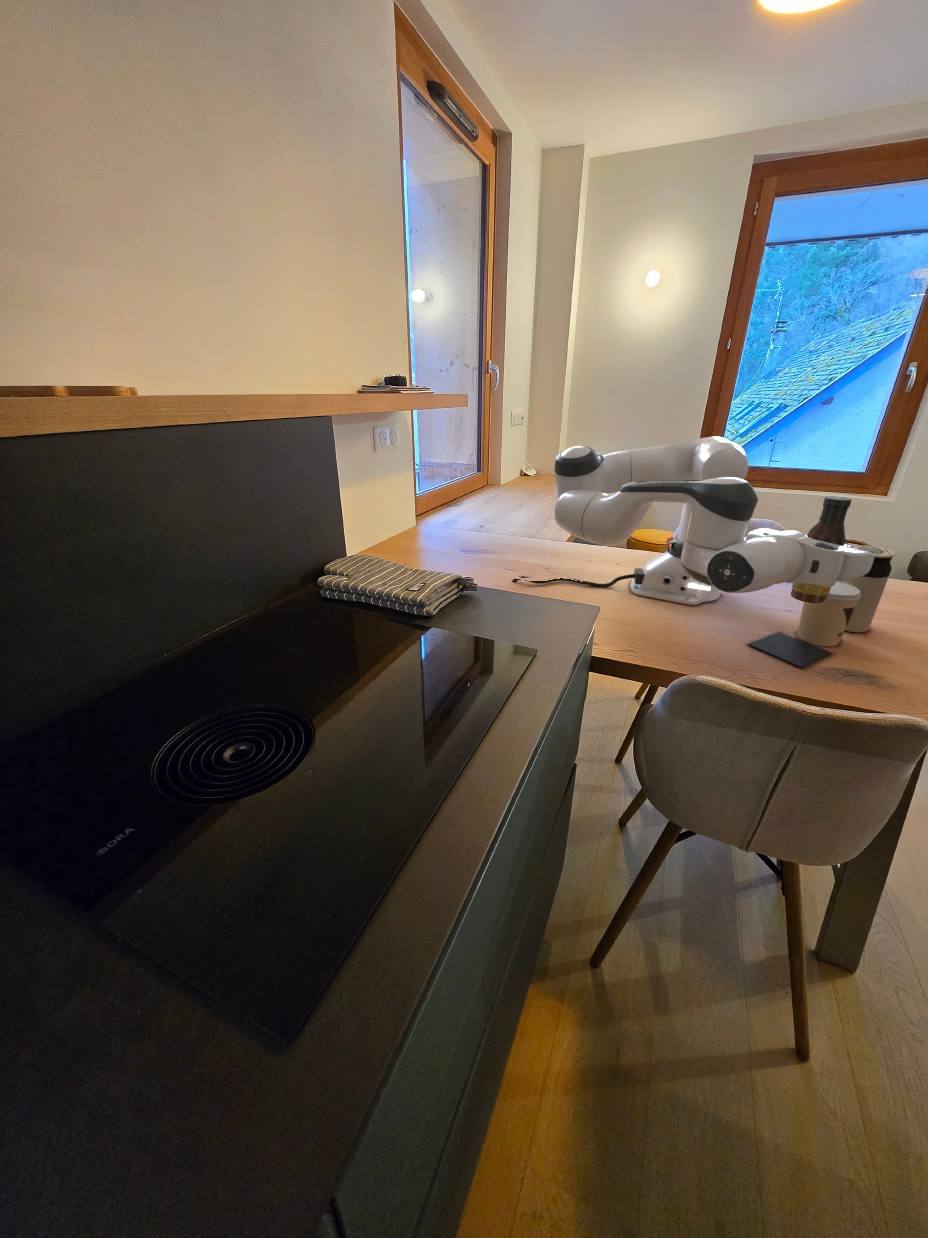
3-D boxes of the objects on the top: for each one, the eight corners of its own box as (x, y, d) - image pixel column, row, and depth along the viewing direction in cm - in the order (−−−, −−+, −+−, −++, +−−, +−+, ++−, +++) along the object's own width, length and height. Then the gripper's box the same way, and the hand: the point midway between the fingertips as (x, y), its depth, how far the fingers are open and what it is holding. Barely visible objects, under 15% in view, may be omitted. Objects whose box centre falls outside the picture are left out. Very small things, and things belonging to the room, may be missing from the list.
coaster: (800, 668, 97) (801, 666, 97) (748, 645, 105) (748, 643, 105) (831, 654, 101) (832, 652, 101) (778, 633, 110) (779, 631, 110)
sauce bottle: (826, 607, 94) (861, 503, 85) (788, 600, 97) (818, 499, 88) (826, 596, 99) (859, 496, 90) (789, 590, 102) (818, 493, 93)
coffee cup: (844, 652, 102) (864, 599, 97) (792, 641, 107) (808, 590, 101) (842, 634, 109) (860, 584, 104) (793, 625, 114) (807, 576, 108)
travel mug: (825, 627, 112) (850, 552, 104) (826, 615, 118) (850, 542, 110) (869, 636, 108) (899, 558, 100) (867, 623, 114) (895, 548, 106)
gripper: (727, 557, 97) (769, 546, 103) (839, 591, 81) (882, 575, 87) (734, 526, 95) (777, 516, 101) (852, 554, 78) (895, 541, 84)
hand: (826, 544), depth 94 cm, fingers closed on sauce bottle, 6 cm apart
